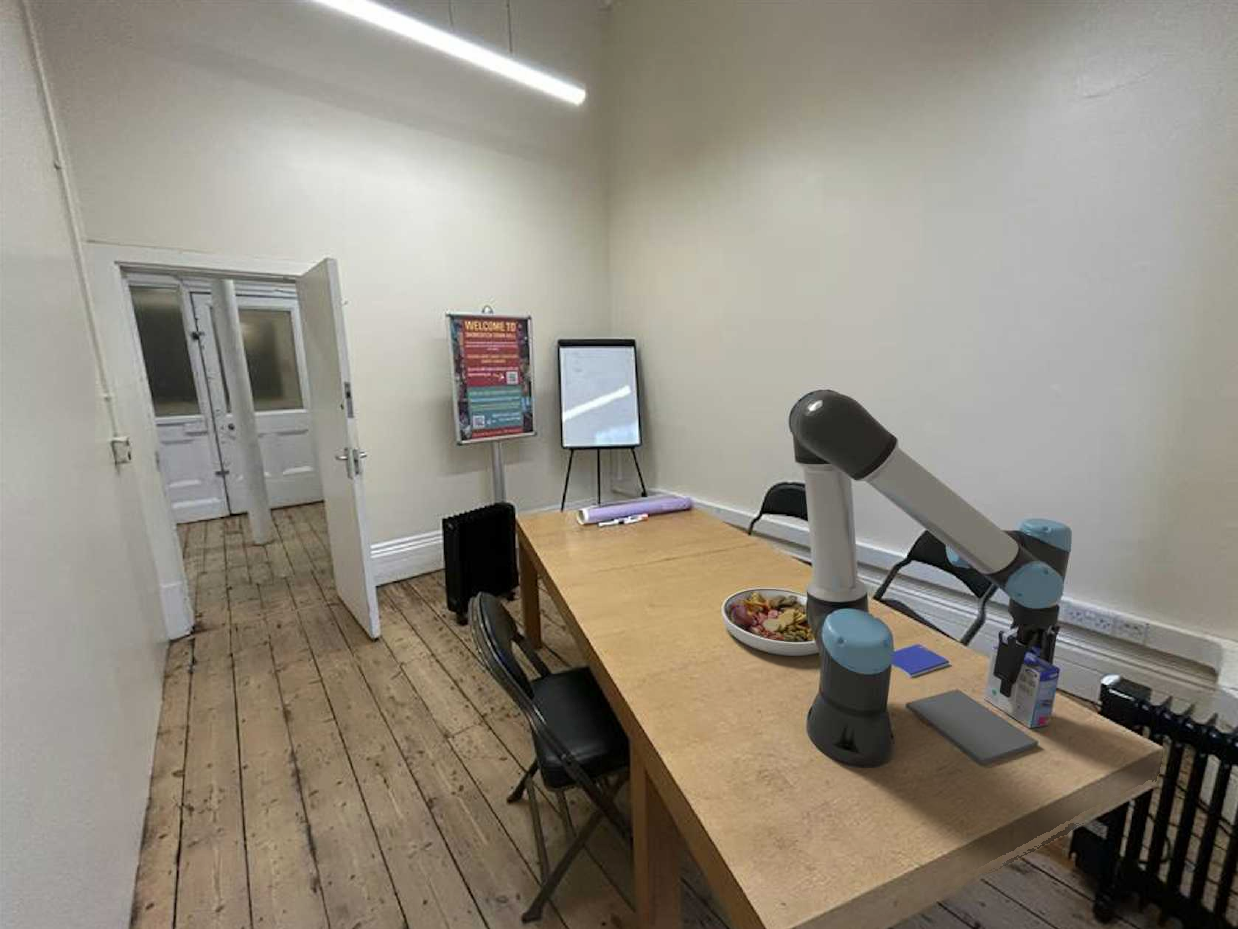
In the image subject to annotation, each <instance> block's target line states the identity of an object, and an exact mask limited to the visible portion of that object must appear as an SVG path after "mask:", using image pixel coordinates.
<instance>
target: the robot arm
mask: <svg viewBox="0 0 1238 929" xmlns="http://www.w3.org/2000/svg"><path fill="white" fill-rule="evenodd" d="M787 420H788V428H789V431H790V433H791V434H792V442H793V451H794V452H793V453H794V454H793V455H794V462H795V464H797V465H798V466H799V467H800V468H802V469H803V476H804V486H805V487H804V489H805V499H806V509H807V521H808V522H807V523H808V530H809V531H808V532H809V533H808V534H809V544H810V546H809V547H810V555H811V557H810V558H811V568H812V579H811V580H810V581H808V582H807V585H805V586H806V595H807V600H806V608H805V613H806V618H807V621H808V624H809V626H810V628H811V631H812V634H813V636H814V639H815V642H816V645H817V648H818V651H819V652H818V653H819V657H820V658H819V659H820V671H819V680H818V681H819V683H818V692H817V693H816V696H815V698H814V700H813V702H812V704H811V706H810V708H809V710H808V712H807V716H806V728H805V729H806V733H807V735H808V738H809V739H810V740H811V742H812V744H813V745H815V747H816V748H818V750H819V751H821V752H822V753H823V754H825V755H827V756H828V757H830V758H832V759H834V760H836V761H838V762H841V763H843V764H846V765H850V766H854V767H859V768H860V767H862V768H874V767H879V766H881V765H884V764H885V763H887V762H888V761H889V760H890V759H891V758H892V757H893V754H894V749H895V733H894V731H893V728H892V723H891V720H890V717H889V716H890V715H889V712H888V703H889V702H888V701H889V693H890V684H891V675H892V674H891V673H892V667H893V666H892V660H893V656H894V651H895V647H894V646H895V645H894V636H893V633H892V631H891V629H890V628H889V626H888V624H886V623H885V621H883V620H882V619H880V617H874V615H873V614H872V613H870V610H869V598H868V586H867V585H866V584H865V583H864V582H863V581H862V580H860V579H859V573H858V571H859V570H858V557H857V555H858V554H857V544H856V543H857V541H856V529H855V515H854V502H853V501H854V500H853V487H852V486H853V485H852V483H853V482H852V480H854V481H855V482H863V481H864V482H866V483H867V484H868V485H870V486H871V487H872V488H873V489H874V490H876V491H877V492H878V493H879V494H881V496H884V497H885V498H886V499H887V500H888V501H890V502H891V503H893V504H894V505H895V506H896V507H897V508H898V509H900V510H901V511H902V512H903V513H905V514H906V515H907V516H909V517H910V518H912V520H913V521H915V522H916V523H917V524H919V525H920V526H921V527H923V529H925V530H926V531H928V532H929V533H930V534H931V535H932V536H934V537H935V538H936V539H938V540H939V541H941V543H943V545H945V550H946V551H945V552H946V556H947V559H948V560H949V563H950V564H952V565H953V566H954V567H957V568H965V569H975V570H976V571H978V572H979V573H980V574H981V575H983V576H984V577H985V578H986V579H987V580H989V581H990V582H991V583H992V584H993V585H995V586H996V587H997V588H998V589H1000V590H1001V591H1002V592H1003V593H1005V594H1006V595H1007V596H1008V597H1009V600H1008V606H1007V612H1008V614H1009V615H1010V616H1011V618H1012V619H1013V621H1012V622H1011V625H1010V627H1009V628H1010V629H1009V630H1008V631H1003V630H1000V631H999V632H998V634H997V636H998V645H997V646H998V651H997V656H996V661H995V667H994V672H993V675H994V676H995V677H997V678H999V679H1000V680H1001V685H1000V694H999V700H998V705H999V706H1000V707H1002V708H1003V709H1005V710H1007V711H1008V712H1010V713H1011V714H1012V713H1014V711H1015V705H1016V699H1017V693H1018V687H1019V683H1017V682H1016V680H1017V677H1018V675H1019V672H1020V669H1021V667H1022V664H1023V661H1024V659H1025V656H1026V653H1027V652H1030V653H1032V654H1036V652H1035V651H1034V650H1033V649H1031V648H1032V646H1035V647H1037V648H1039V649H1041V650H1042V651H1041V653H1040V655H1039V656H1038V658H1040V659H1042V660H1044V661H1046V662H1048V663H1050V664H1052V665H1054V656H1055V650H1056V643H1057V637H1058V635H1059V632H1060V630H1061V626H1060V625H1058V624H1057V623H1058V621H1059V616H1060V615H1059V614H1060V610H1061V609H1060V608H1061V607H1060V604H1061V600H1062V597H1063V596H1064V588H1065V585H1064V584H1065V580H1066V575H1067V570H1068V569H1067V568H1068V563H1069V558H1070V553H1071V551H1072V541H1073V540H1072V539H1073V537H1072V536H1073V534H1072V530H1071V529H1072V528H1070V527H1069V526H1068V525H1066V524H1065V523H1062V522H1059V521H1056V520H1051V519H1047V518H1034V517H1033V518H1026V519H1024V520H1022V521H1021V523H1020V526H1019V529H1017V530H1016V529H1014V530H1010V529H1009V530H1008V529H1007V530H1006V529H1001V527H999V526H998V525H996V524H995V523H994V522H992V521H991V520H990V519H989V518H987V517H986V516H985V515H983V514H982V512H980V511H978V509H976V508H975V507H973V506H972V505H971V504H970V503H969V502H967V501H966V500H965V499H963V498H962V497H961V496H960V495H958V494H957V493H956V492H955V491H954V490H952V489H951V488H950V487H948V485H946V484H945V483H943V481H941V480H939V479H938V478H937V477H936V476H934V475H933V474H932V473H931V472H929V470H927V469H926V468H925V467H924V466H922V465H921V464H920V463H918V461H916V460H914V459H913V458H912V457H911V456H910V455H908V454H907V453H906V452H905V451H903V450H902V449H901V448H900V447H899V438H897V437H896V436H895V435H894V434H892V433H891V432H890V431H889V430H888V429H887V428H885V427H884V426H883V425H882V424H881V423H880V422H879V421H878V420H877V419H876V418H875V417H874V416H872V415H871V413H870V412H869V411H868V410H867V409H866V408H865V407H863V405H862V404H861V403H859V402H858V401H857V400H855V399H854V398H853V397H851V396H848V395H845V394H843V393H840V392H839V391H835V390H834V389H833V390H832V389H817V390H812V391H809V392H807V393H805V394H803V395H801V396H800V397H799V398H798V399H797V400H796V401H795V402H794V404H793V405H792V407H791V408H790V411H789V415H788V419H787ZM1020 644H1022V645H1024V646H1022V645H1020Z"/></svg>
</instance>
